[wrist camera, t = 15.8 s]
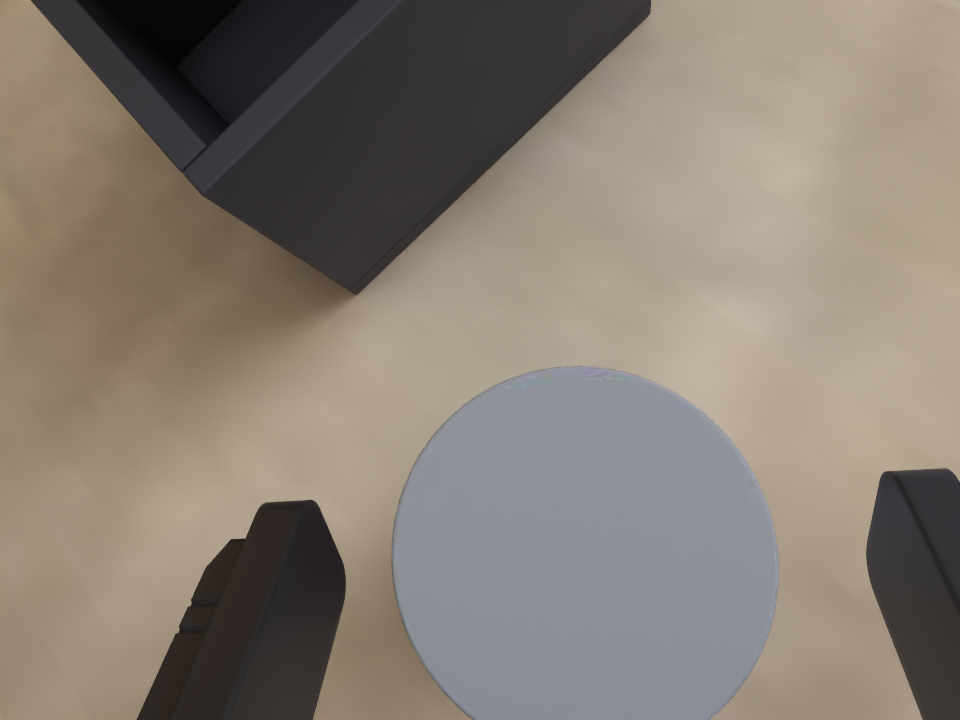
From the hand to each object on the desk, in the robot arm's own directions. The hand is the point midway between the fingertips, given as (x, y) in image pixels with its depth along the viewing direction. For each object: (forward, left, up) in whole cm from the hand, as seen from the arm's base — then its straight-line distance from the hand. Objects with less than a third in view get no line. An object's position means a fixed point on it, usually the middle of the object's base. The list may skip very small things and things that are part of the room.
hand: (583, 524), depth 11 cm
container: (0, 0, -13) cm, 13 cm away
